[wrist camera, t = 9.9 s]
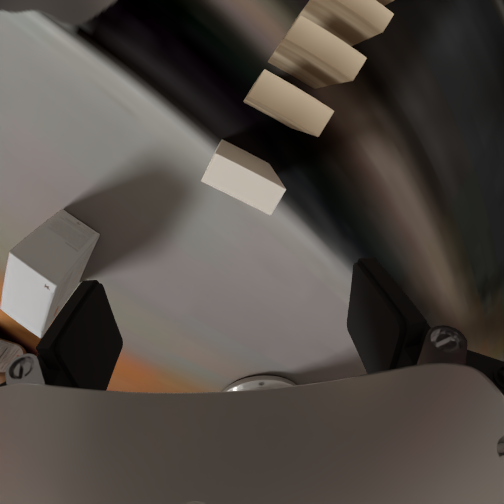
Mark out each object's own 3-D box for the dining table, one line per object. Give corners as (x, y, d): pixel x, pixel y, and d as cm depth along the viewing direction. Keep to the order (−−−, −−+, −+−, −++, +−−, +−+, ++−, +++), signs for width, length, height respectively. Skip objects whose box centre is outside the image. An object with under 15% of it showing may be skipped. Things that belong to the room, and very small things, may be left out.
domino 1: (221, 139, 27) (215, 153, 18) (269, 163, 28) (286, 189, 19) (211, 157, 28) (200, 181, 19) (258, 181, 29) (270, 215, 20)
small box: (63, 207, 29) (8, 248, 19) (102, 233, 30) (57, 285, 21) (43, 260, 31) (-2, 309, 22) (78, 284, 33) (40, 340, 23)
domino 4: (253, 83, 25) (264, 69, 16) (301, 110, 26) (334, 111, 17) (243, 101, 26) (247, 96, 17) (290, 128, 27) (318, 137, 18)
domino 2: (301, 11, 22) (331, -29, 13) (346, 38, 23) (394, 13, 14) (291, 26, 22) (318, -11, 13) (336, 53, 24) (382, 32, 15)
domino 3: (278, 45, 23) (300, 15, 14) (324, 72, 25) (367, 57, 16) (267, 62, 24) (284, 37, 15) (314, 89, 25) (353, 80, 16)
